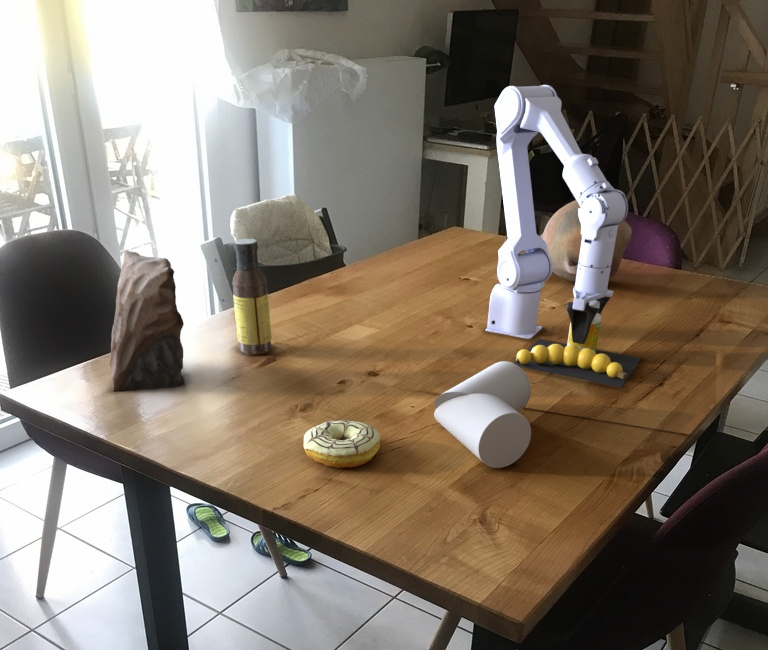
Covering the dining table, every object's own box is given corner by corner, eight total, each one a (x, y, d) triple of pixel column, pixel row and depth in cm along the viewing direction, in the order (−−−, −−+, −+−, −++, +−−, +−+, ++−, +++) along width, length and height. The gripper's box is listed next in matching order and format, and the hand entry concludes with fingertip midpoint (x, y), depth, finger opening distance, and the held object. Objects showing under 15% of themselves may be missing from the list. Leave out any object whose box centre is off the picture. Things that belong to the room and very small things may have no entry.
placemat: (511, 366, 146) (511, 364, 146) (538, 340, 159) (539, 338, 158) (620, 389, 139) (621, 387, 139) (641, 360, 151) (641, 358, 151)
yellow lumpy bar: (513, 366, 146) (515, 346, 143) (520, 354, 151) (522, 335, 149) (625, 383, 140) (629, 362, 138) (628, 370, 145) (632, 350, 143)
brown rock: (130, 362, 144) (113, 248, 133) (200, 364, 144) (189, 250, 133) (108, 390, 133) (88, 268, 122) (185, 393, 133) (171, 271, 122)
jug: (638, 282, 195) (523, 282, 211) (645, 195, 190) (526, 202, 205) (613, 283, 179) (490, 284, 195) (619, 189, 174) (492, 197, 189)
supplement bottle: (595, 359, 148) (604, 307, 143) (565, 356, 149) (573, 304, 144) (595, 349, 153) (603, 298, 148) (566, 346, 154) (573, 296, 149)
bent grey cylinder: (402, 409, 126) (463, 467, 111) (419, 345, 122) (484, 395, 106) (495, 416, 134) (564, 470, 119) (514, 355, 130) (588, 403, 114)
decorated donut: (321, 433, 122) (321, 410, 120) (388, 445, 119) (389, 422, 117) (293, 463, 113) (292, 439, 111) (364, 477, 110) (365, 452, 108)
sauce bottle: (267, 342, 154) (262, 235, 143) (275, 353, 149) (270, 243, 138) (234, 346, 152) (226, 237, 141) (241, 357, 147) (233, 246, 137)
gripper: (606, 277, 135) (593, 354, 143) (626, 258, 146) (613, 330, 154) (566, 270, 138) (555, 346, 145) (588, 252, 149) (577, 324, 156)
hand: (582, 338), depth 150 cm, fingers closed on supplement bottle, 5 cm apart
